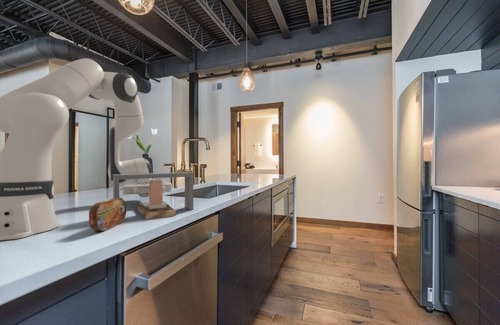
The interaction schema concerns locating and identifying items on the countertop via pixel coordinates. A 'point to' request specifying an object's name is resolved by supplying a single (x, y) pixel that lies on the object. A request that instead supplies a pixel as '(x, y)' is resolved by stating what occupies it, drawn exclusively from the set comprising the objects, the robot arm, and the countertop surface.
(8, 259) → the countertop surface
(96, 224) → the tin
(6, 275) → the countertop surface
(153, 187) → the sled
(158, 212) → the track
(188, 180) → the archway
